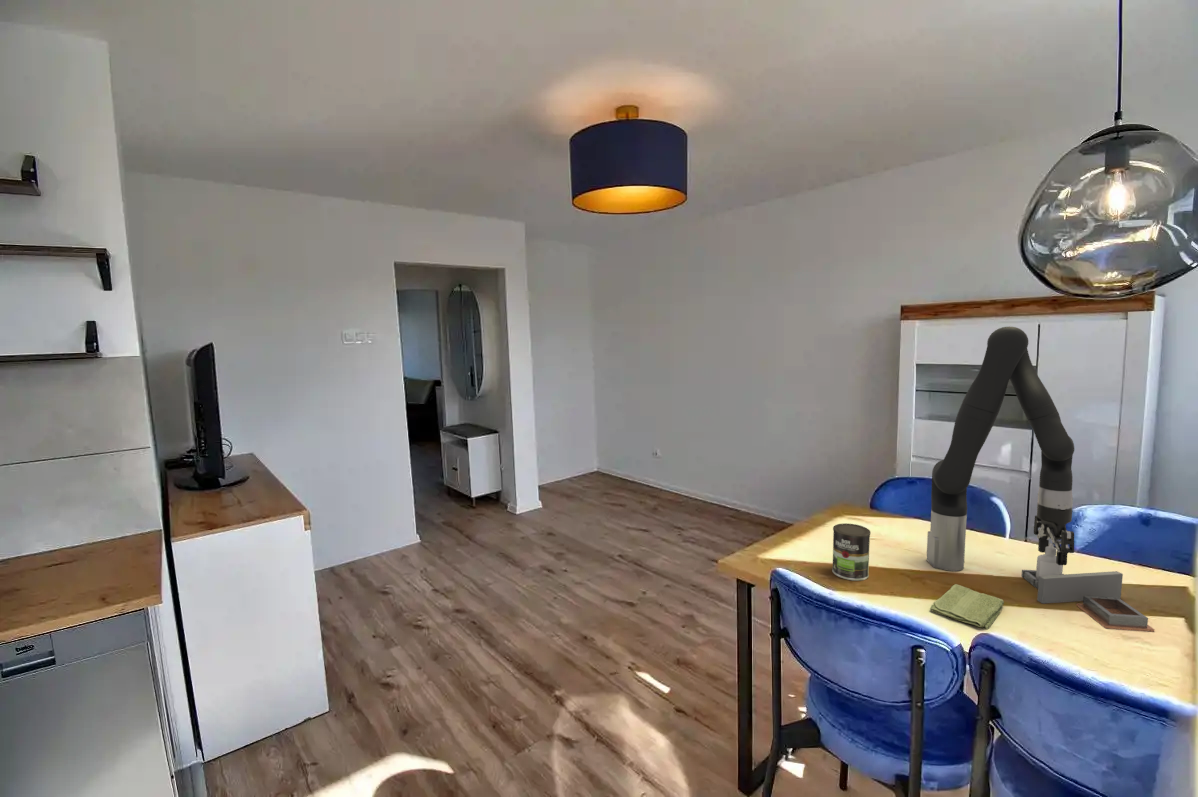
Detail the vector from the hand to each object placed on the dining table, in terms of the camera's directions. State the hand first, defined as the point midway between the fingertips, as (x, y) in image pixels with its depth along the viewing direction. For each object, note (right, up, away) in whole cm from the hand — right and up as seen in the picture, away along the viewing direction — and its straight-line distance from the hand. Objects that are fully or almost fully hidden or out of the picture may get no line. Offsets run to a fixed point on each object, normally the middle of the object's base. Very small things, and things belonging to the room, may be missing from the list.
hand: (1052, 558), depth 153 cm
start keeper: (0, -8, +1) cm, 8 cm away
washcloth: (-32, -11, -11) cm, 35 cm away
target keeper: (+1, -10, -17) cm, 20 cm away
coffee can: (-52, -8, +12) cm, 54 cm away
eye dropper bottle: (0, -8, +1) cm, 8 cm away
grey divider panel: (0, -9, -8) cm, 12 cm away
